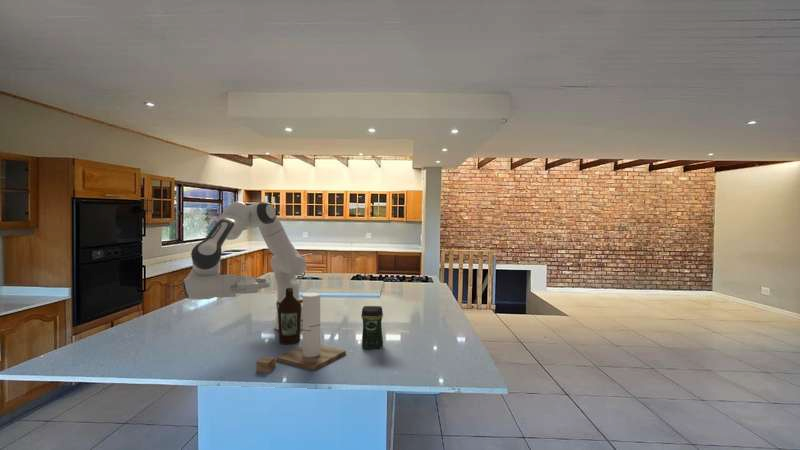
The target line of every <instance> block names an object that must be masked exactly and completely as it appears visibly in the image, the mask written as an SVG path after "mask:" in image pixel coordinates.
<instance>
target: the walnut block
mask: <svg viewBox="0 0 800 450" xmlns="http://www.w3.org/2000/svg"><path fill="white" fill-rule="evenodd" d="M276 362H277V357H271V356H263V357H261V358H260V359H258V360H256V362H255V363H256V365H255V366H256V372H259V373H267V374H268V373H270V372H271V371H273V370H274V369H276V367H277V366H276V365H277V364H276Z"/></svg>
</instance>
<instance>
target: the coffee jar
mask: <svg viewBox="0 0 800 450" xmlns="http://www.w3.org/2000/svg"><path fill="white" fill-rule="evenodd" d="M360 317H361V319H362V334H361V347H362V348H363V349H365V350H380V349H381V348H383V346H384V340H383V339H384V337H383V331H382V330H383V327H382V319H383V317H384V313H383V306H381V305H364V306H363V307H362V310H361V316H360Z"/></svg>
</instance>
